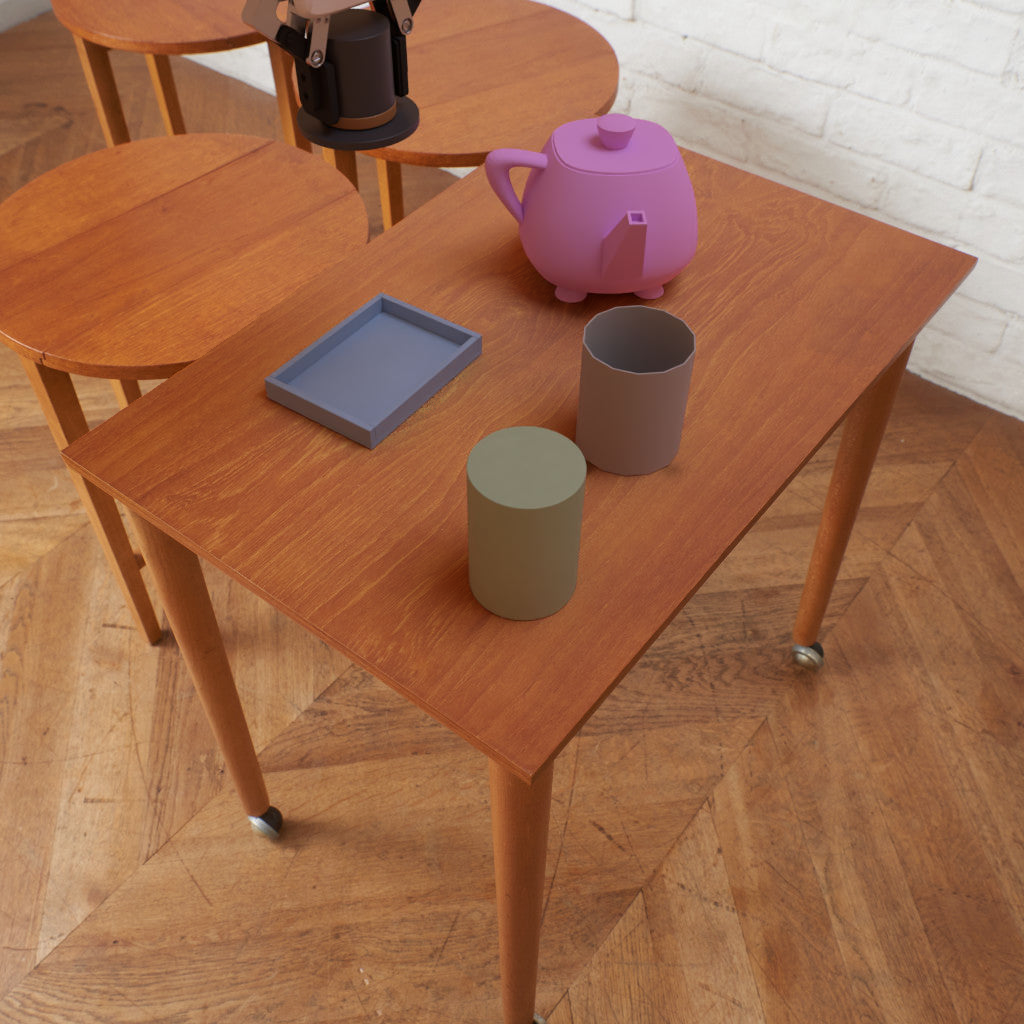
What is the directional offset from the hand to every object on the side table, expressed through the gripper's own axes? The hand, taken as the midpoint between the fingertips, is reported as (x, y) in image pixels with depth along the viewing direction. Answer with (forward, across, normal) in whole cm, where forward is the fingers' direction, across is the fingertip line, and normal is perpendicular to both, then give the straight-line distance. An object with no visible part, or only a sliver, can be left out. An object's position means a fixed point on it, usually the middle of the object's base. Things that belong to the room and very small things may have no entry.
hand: (356, 101), depth 71 cm
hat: (+1, 0, 0) cm, 1 cm away
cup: (+25, -9, +19) cm, 33 cm away
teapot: (+25, -24, +2) cm, 34 cm away
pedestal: (+24, +7, +24) cm, 35 cm away
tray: (+24, 0, -1) cm, 24 cm away
